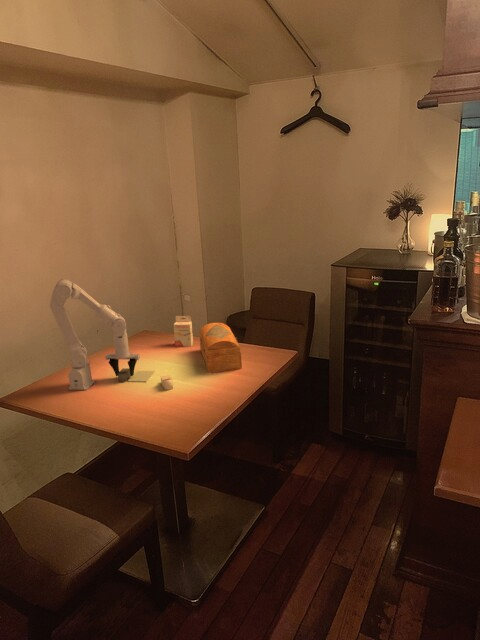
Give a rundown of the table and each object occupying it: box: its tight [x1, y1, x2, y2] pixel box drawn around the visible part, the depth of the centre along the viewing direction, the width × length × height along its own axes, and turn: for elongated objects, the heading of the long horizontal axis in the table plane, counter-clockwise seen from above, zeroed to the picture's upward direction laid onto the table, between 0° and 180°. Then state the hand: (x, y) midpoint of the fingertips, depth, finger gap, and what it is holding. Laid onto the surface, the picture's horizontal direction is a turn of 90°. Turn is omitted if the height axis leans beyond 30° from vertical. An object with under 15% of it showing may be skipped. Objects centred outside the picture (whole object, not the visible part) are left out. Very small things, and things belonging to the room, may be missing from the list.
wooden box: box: [199, 322, 243, 373], centre depth 215 cm, size 30×16×14 cm, turn 10°
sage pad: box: [127, 370, 155, 383], centre depth 200 cm, size 11×8×1 cm
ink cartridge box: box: [173, 315, 194, 347], centre depth 236 cm, size 9×5×15 cm, turn 84°
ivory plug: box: [160, 374, 174, 391], centre depth 189 cm, size 9×4×4 cm, turn 22°
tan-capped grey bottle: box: [117, 367, 132, 383], centre depth 199 cm, size 9×4×4 cm, turn 172°
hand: (124, 375), depth 199 cm, fingers open, 6 cm apart
